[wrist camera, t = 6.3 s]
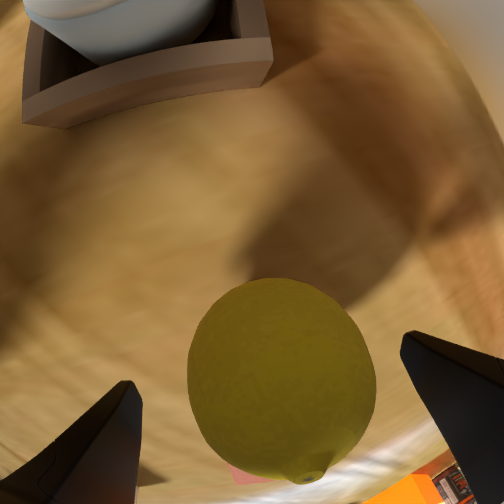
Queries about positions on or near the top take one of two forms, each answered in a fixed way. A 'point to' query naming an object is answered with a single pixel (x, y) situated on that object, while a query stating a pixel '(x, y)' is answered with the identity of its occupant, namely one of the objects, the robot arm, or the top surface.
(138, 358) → the top surface
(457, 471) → the supplement bottle
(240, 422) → the lemon
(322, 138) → the top surface
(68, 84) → the brown wooden tray
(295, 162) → the top surface
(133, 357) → the top surface
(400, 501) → the orange juice
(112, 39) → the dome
